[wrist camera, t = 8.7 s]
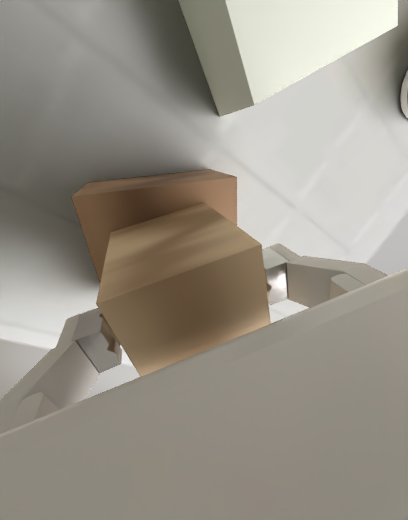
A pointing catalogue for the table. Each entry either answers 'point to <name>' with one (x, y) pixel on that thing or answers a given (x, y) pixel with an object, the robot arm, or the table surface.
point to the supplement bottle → (405, 95)
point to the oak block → (181, 286)
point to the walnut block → (147, 203)
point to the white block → (276, 41)
